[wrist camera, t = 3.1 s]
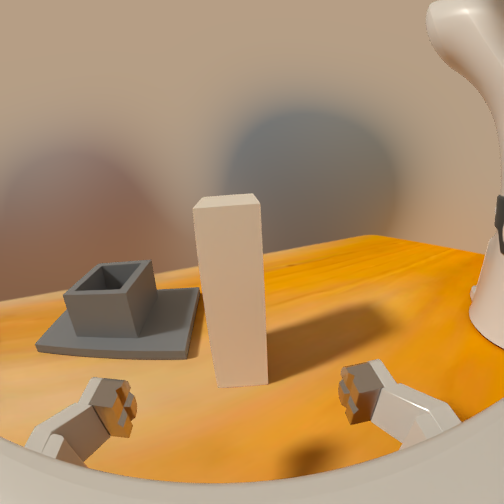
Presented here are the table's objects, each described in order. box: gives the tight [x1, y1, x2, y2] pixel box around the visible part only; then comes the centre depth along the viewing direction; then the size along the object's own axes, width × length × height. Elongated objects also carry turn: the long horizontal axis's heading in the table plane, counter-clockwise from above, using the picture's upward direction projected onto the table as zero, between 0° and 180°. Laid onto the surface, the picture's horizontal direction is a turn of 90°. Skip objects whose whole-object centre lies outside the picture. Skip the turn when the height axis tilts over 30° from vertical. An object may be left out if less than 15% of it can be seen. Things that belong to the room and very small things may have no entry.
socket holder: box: [35, 260, 200, 359], centre depth 30 cm, size 18×14×6 cm
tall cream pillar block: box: [193, 193, 268, 388], centre depth 22 cm, size 4×6×14 cm, turn 4°
